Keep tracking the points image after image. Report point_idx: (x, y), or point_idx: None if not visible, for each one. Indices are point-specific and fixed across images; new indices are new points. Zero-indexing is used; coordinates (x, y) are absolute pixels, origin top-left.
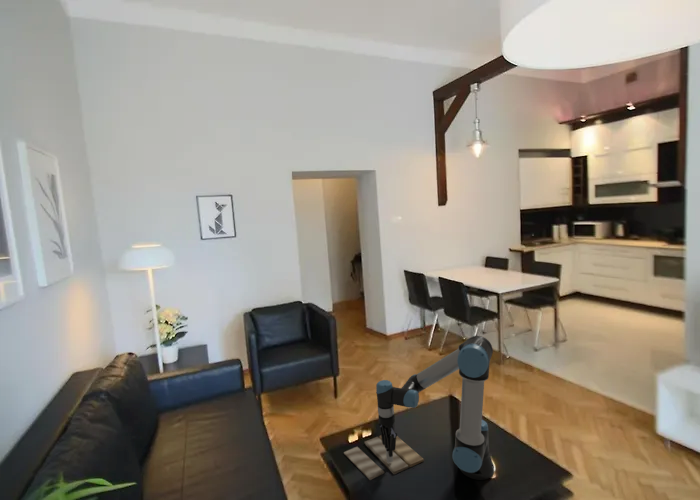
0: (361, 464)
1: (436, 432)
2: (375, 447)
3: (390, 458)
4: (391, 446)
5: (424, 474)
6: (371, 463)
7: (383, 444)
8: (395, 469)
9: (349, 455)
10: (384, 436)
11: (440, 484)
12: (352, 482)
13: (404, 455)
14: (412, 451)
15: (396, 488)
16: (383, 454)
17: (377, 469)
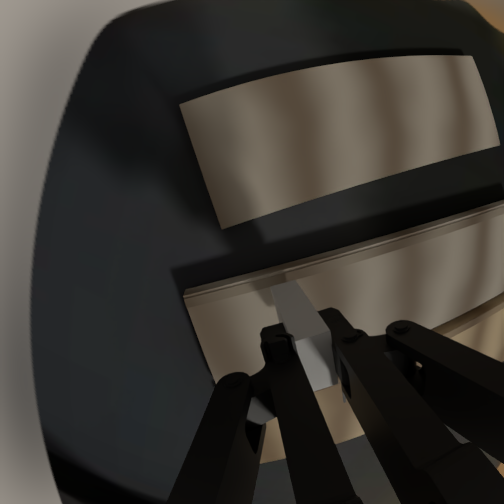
0: (354, 92)
1: (395, 494)
2: (466, 246)
3: (280, 321)
4: (194, 439)
5: (155, 429)
6: (344, 163)
7: (390, 327)
8: (206, 315)
9: (447, 67)
10: (418, 432)
11: (88, 445)
12: (207, 6)
13: (323, 400)
14: (335, 437)
15: (70, 261)
16: (394, 278)
17: (264, 186)
